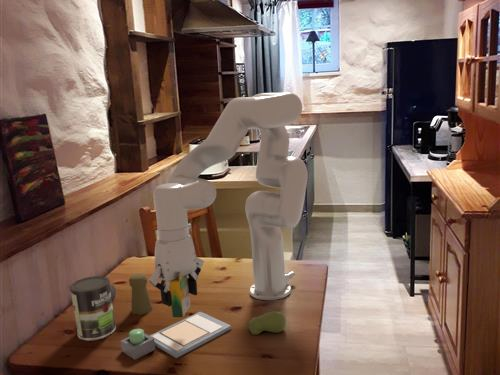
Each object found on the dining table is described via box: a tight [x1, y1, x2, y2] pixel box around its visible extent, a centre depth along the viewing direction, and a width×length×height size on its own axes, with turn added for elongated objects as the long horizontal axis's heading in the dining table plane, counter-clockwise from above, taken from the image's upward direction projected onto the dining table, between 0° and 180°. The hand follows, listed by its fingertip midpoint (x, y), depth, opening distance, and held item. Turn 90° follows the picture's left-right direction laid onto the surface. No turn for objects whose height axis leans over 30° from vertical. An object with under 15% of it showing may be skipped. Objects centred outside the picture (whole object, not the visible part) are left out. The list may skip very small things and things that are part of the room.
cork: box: [128, 273, 153, 316], centre depth 149 cm, size 6×6×11 cm
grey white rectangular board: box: [149, 311, 232, 359], centre depth 133 cm, size 18×13×1 cm
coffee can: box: [69, 275, 117, 342], centre depth 137 cm, size 10×10×14 cm
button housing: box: [120, 332, 156, 361], centre depth 127 cm, size 6×6×3 cm
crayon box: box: [168, 272, 191, 318], centre depth 129 cm, size 7×3×12 cm, turn 172°
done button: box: [128, 328, 145, 346], centre depth 127 cm, size 4×4×4 cm
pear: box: [247, 310, 287, 335], centre depth 132 cm, size 6×5×10 cm
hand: (180, 298), depth 130 cm, fingers closed on crayon box, 7 cm apart
